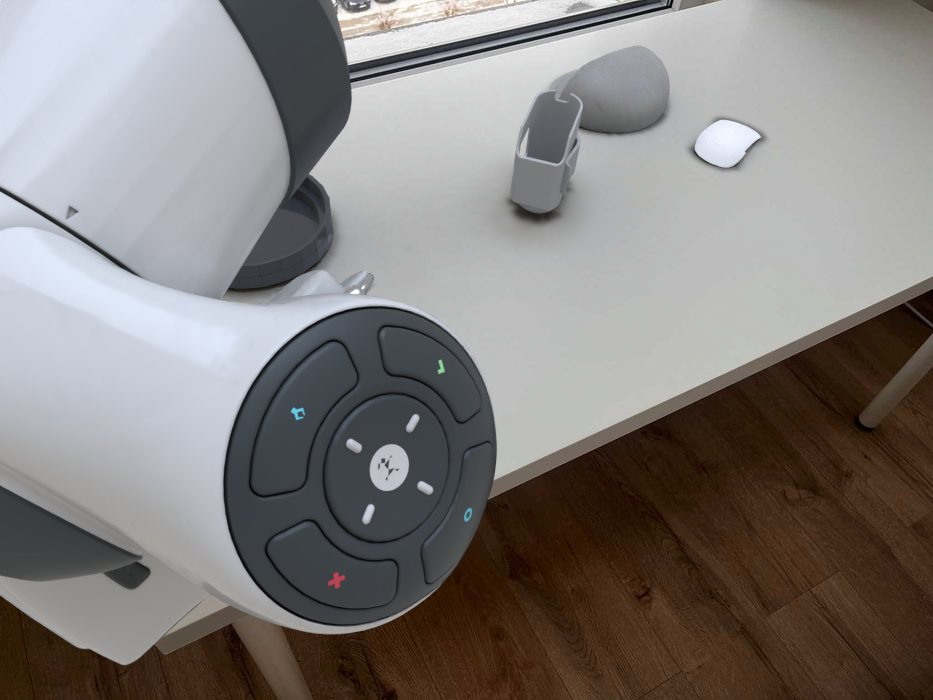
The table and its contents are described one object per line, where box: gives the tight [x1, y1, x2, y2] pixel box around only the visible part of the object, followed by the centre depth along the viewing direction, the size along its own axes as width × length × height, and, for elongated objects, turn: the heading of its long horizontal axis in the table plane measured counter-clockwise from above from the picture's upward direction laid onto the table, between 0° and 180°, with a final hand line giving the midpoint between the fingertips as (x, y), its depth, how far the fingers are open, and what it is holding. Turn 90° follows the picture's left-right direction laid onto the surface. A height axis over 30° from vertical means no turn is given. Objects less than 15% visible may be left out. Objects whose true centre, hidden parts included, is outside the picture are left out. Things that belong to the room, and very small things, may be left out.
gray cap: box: [549, 44, 671, 134], centre depth 104 cm, size 19×7×16 cm
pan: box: [228, 173, 334, 290], centre depth 82 cm, size 18×18×4 cm
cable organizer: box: [509, 89, 583, 215], centre depth 86 cm, size 7×12×12 cm, turn 162°
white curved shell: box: [694, 119, 762, 169], centre depth 100 cm, size 7×12×2 cm, turn 143°
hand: (174, 430), depth 41 cm, fingers open, 8 cm apart
